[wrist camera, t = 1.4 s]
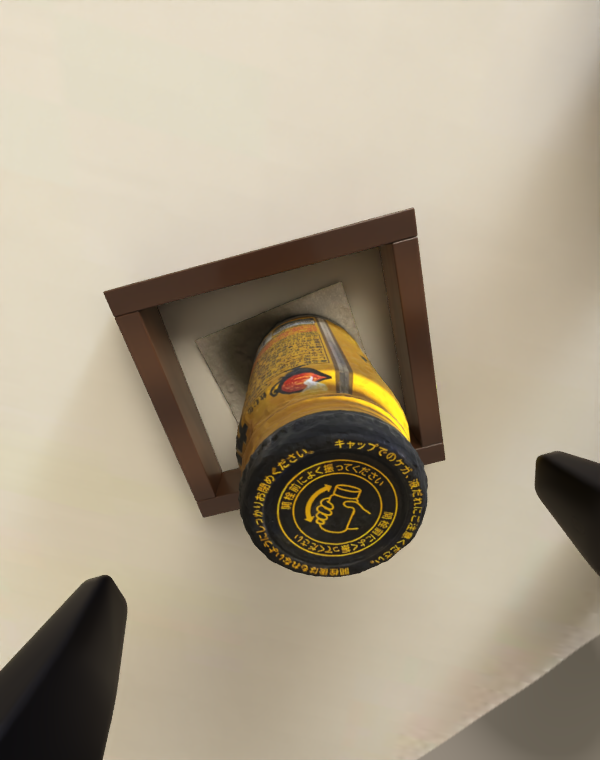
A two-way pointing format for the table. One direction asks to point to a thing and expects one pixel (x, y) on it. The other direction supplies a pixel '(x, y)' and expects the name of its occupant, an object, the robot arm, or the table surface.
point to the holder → (141, 299)
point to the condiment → (317, 439)
